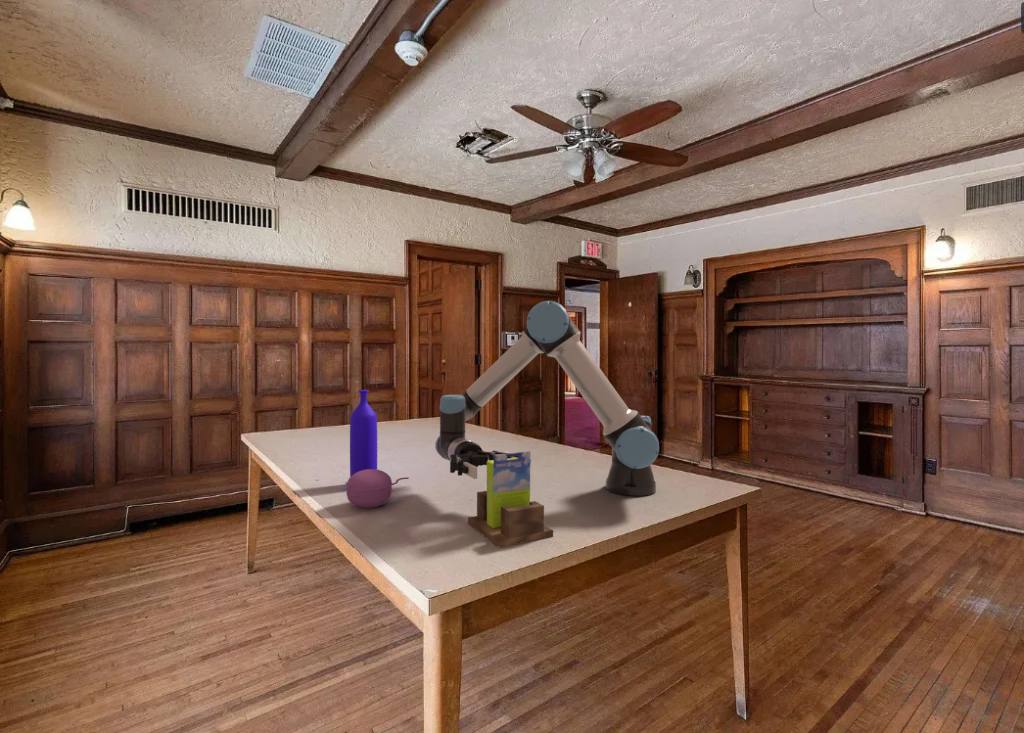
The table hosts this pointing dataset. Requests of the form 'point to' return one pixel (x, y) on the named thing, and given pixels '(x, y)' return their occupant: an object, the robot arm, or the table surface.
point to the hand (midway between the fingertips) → (501, 470)
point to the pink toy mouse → (370, 488)
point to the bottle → (363, 436)
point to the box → (507, 484)
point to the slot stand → (511, 523)
